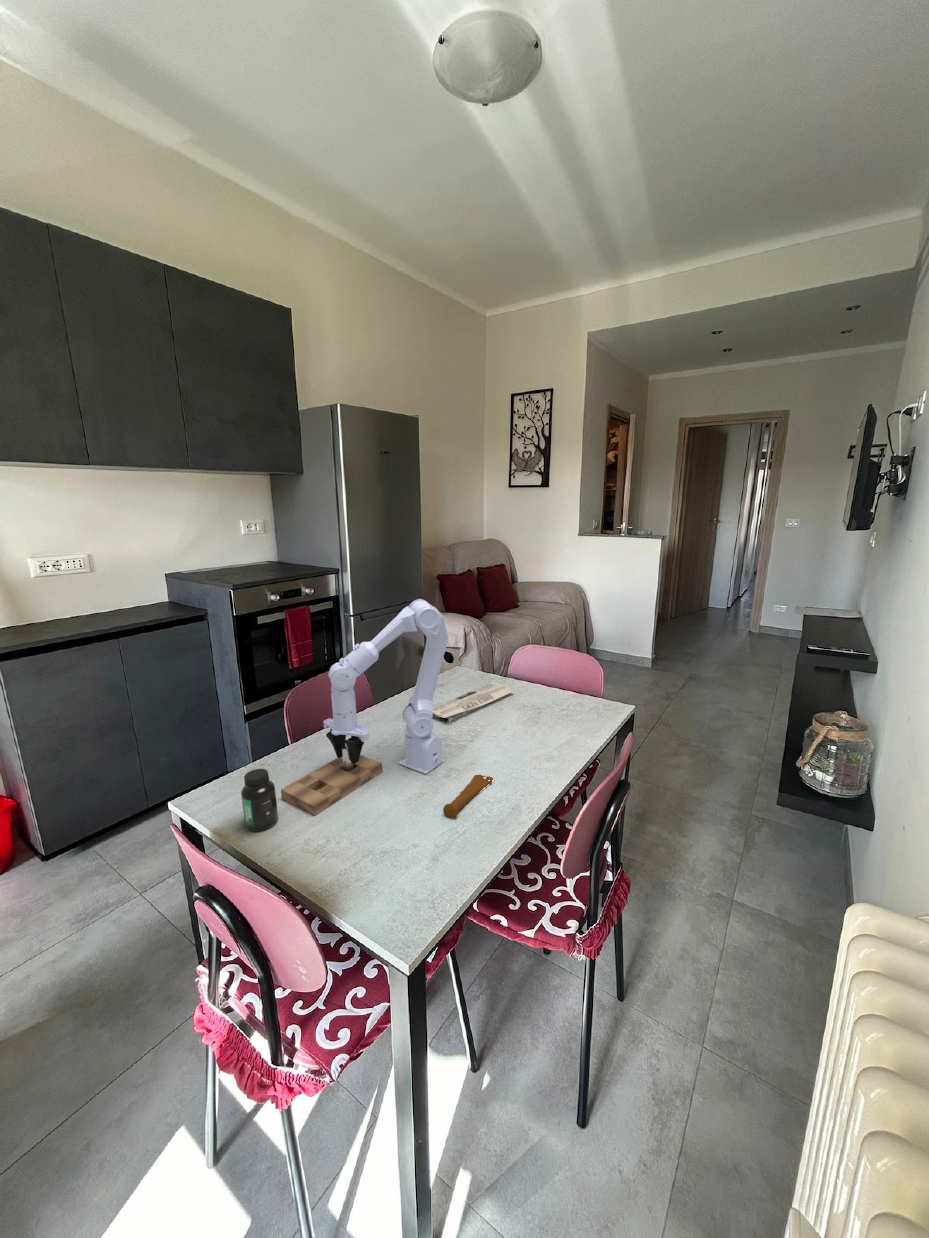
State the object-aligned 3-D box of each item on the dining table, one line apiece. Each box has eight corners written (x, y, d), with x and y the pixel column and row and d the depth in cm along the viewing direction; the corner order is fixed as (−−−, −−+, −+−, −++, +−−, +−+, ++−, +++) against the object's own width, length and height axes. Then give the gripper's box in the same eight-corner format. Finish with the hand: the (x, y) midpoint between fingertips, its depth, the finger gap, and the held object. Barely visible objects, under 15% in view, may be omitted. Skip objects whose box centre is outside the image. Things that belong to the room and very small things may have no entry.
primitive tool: (476, 775, 128) (476, 763, 127) (496, 780, 125) (496, 768, 124) (441, 817, 111) (441, 804, 110) (463, 824, 109) (463, 810, 108)
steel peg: (356, 774, 128) (354, 746, 126) (349, 779, 126) (346, 751, 124) (349, 771, 129) (347, 744, 127) (342, 776, 127) (339, 748, 125)
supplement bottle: (249, 836, 105) (242, 786, 102) (242, 820, 110) (235, 772, 107) (282, 824, 109) (276, 775, 106) (273, 809, 114) (268, 762, 111)
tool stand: (382, 771, 129) (382, 763, 128) (315, 815, 111) (314, 806, 111) (350, 758, 136) (349, 750, 135) (281, 798, 118) (280, 789, 117)
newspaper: (489, 686, 187) (489, 677, 187) (516, 694, 180) (516, 685, 179) (423, 717, 162) (422, 707, 161) (451, 728, 154) (451, 718, 153)
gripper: (312, 709, 124) (317, 757, 127) (352, 722, 116) (356, 774, 119) (334, 699, 130) (337, 746, 133) (374, 712, 122) (377, 761, 125)
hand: (348, 759), depth 126 cm, fingers open, 5 cm apart
